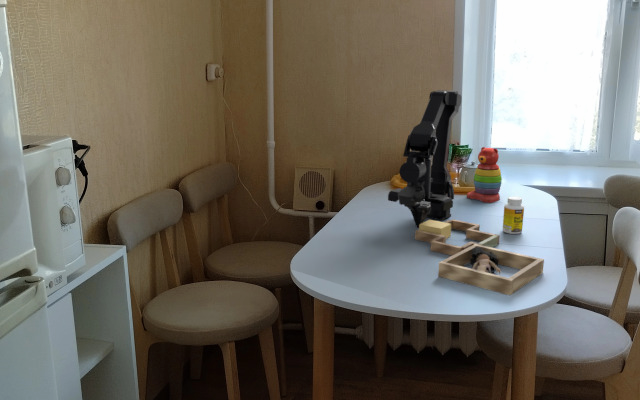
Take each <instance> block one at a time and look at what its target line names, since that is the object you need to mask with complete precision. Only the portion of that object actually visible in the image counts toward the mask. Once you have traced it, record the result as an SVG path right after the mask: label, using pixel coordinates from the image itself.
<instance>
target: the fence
mask: <svg viewBox="0 0 640 400" xmlns="http://www.w3.org/2000/svg"><path fill="white" fill-rule="evenodd" d="M475 246H476V247H480V248H482V250H484V251H485V252H489V253H490V252H492V253H493V254H495V255H497V256H496V257H497V260H499V261H498V262H499V263H498V265H501V266H504V267H510V268H513V269H517V270H518V269H519V271H517V272H515V273H514V274H513V275H511V276H509V277H505V276H502V275H499V274H498V275H497V274H496V273H495V274H494V273H493V274H492V272H490V273H489V272H483V271H479V270H477V269H476V270H475V269H472V268H470V267H466V266H467V264H470V259H471V258H473V257H472V255H471V254H470V253H471V252H472V251H471V250H472V249H473V248H475ZM544 264H545V259H543V258H540V257H535V256H531V255H526V254H522V253H519V252H518V253H517V252H513V251H508V250H505V249H504V250H503V249H500V248H495V247H492V248H491V247H487V246H482V245H478V244H474V245H472V246H470V247H468V248H466V249H464V250H462V251H461V252H459V253H457V254H455V255H453V256H452V255H450V256H449V257H448V258H447V257H446V258H445V259H443V260H442V261H439V262H438V274H437V275H438V276H437V277H440V278H443V279H447V280H451V281H454V282H458V283H462V284H466V285H468V286H473V287H478V288H481V289H485V290H489V291H491V292H496V293H500V294H504V295H508V296H512V295H513V294H514V293H516V292H518V291H519V290H520V289H521V288H523V287H524V286H526V285H527V284H529V283H531V282H532V281H533V280H535V279H536V278H538V277H539V276H541V275H542V274H543V273H544Z"/></svg>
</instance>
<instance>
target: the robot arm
mask: <svg viewBox="0 0 640 400" xmlns="http://www.w3.org/2000/svg"><path fill="white" fill-rule="evenodd" d="M428 97H429V99H428V103H427V105H426V108H425V110H424V113H423V114H422V118H421V121H420V123H418V124H417V125H415V126H414V127H413V128H412V130H411V131H410V133H409V135H408V136H407V140H406V143H405V146H404V151H403V155H402V157H404V158H406V161H405V162H404V163H403V164H401V166H400V167H399V171H398V172H399V176H400V178H401V179H402V180H403V181H404V182H406V186H405V187H403V188H399V187H398V188H395V189H393V190H392V189H391V190H390V191H389V192H388V193H387V201H389V202H394V203H397V202H399V205H401V206H402V205H404V207H406V208H408V210H409V211H410V212H411V215H412V217H413V222H414V224H415V227H416V229H419V224H421V223H423V222H425V220H426V218H429V219H434V220H437V221H439V220H440V221H441V220H442V221H443V220H445V219H447V218H450V217H452V214H451V208H454V201H453V200H454V199H455V193H454V192H455V189H454V186H453V183H452V180H451V179H452V174H451V173H450V171H449V169H448V160H449V159H448V157H449V151H450V149H449V148H450V140H451V133H452V125H453V124H452V122H453V120H454V118H455V117H456V116H457V114H458V113H459V109H460V106H462V105H461V104H462V94H460V93H459V92H458V91H457V90H441V89H437V90H433V91H431V92H430V93H429V96H428Z"/></svg>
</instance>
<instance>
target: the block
mask: <svg viewBox="0 0 640 400" xmlns="http://www.w3.org/2000/svg"><path fill="white" fill-rule="evenodd" d="M418 230H421V231H425V232H430V233H434V234H439V235H443V236H446V240H447V239H449V238H451V237H450V236H452V235H451V234H452V229H451V224H450V223H445V221H439V220H435V219H434V220H433V219H428V220H426V221H425V220H424V222H423V223H421V224H419V228H418ZM448 237H449V238H448Z"/></svg>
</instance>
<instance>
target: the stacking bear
mask: <svg viewBox="0 0 640 400" xmlns="http://www.w3.org/2000/svg"><path fill="white" fill-rule="evenodd" d="M498 152H499V151H498V149H497V148H493V147H485V146H483V147H481V148H480V151H479V153H478V155H477V160H478V163H479V164H477V166H476V169H475V172H474V176H473V185H474V190H471V191H470V192H467V194H466V198H467V199H470V200H478V201H481V202H482V203H485V204H490V203H491V204H492V203H496V202H498V201H499V200H500V199H501V196H500V190H501V186H502V180H503V179H502V178H503V177H502V172H501V168H500V166H499V165H498V164H497V163H498V161H499V153H498Z"/></svg>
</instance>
